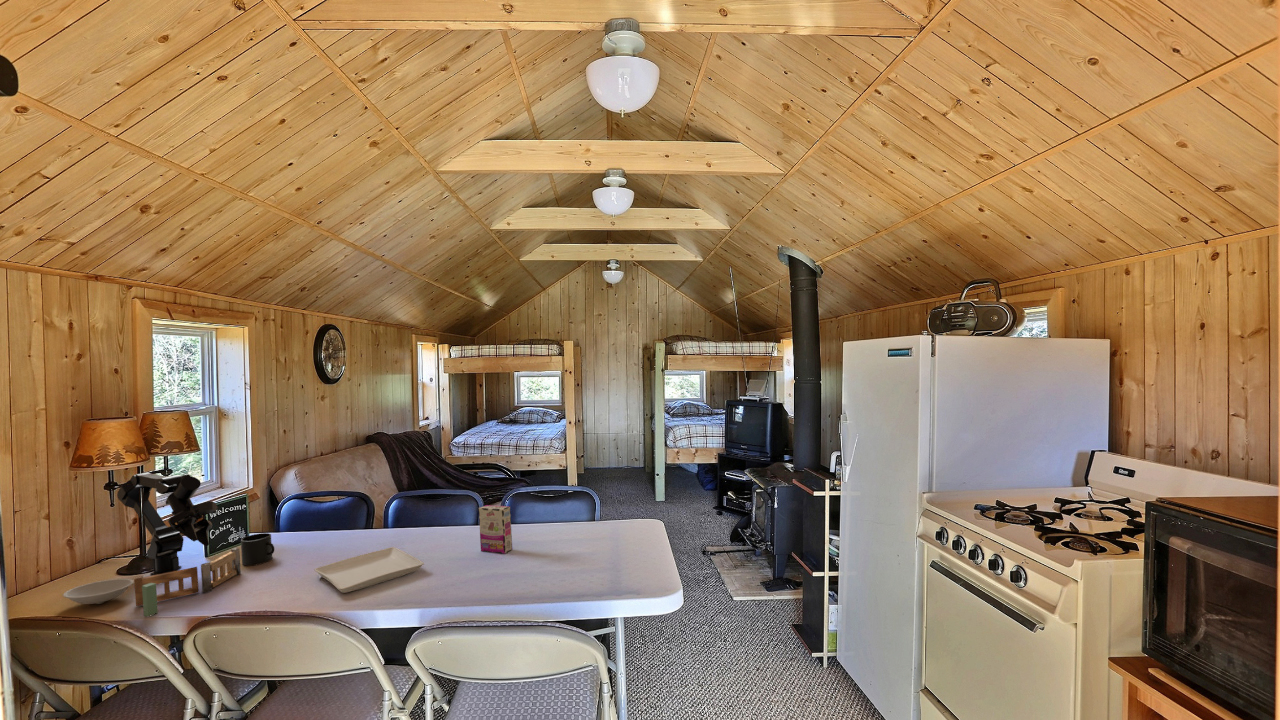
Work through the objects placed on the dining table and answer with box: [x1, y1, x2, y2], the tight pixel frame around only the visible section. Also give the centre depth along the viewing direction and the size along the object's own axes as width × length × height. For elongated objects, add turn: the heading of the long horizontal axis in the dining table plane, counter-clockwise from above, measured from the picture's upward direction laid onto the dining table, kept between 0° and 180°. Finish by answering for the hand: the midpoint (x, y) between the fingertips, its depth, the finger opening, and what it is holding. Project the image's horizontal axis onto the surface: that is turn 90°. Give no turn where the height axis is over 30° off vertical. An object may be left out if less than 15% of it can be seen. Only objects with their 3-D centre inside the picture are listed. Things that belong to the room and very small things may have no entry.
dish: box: [62, 578, 135, 605], centre depth 183 cm, size 18×14×5 cm
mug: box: [240, 532, 275, 566], centre depth 216 cm, size 9×12×9 cm
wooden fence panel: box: [200, 547, 242, 594], centre depth 196 cm, size 2×17×9 cm, turn 1°
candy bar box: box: [478, 504, 513, 554], centre depth 216 cm, size 11×5×16 cm, turn 68°
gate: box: [133, 566, 200, 607], centre depth 183 cm, size 15×2×8 cm, turn 125°
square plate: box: [314, 546, 425, 594], centre depth 197 cm, size 27×27×4 cm
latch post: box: [142, 583, 159, 617], centre depth 173 cm, size 2×2×9 cm
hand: (201, 543), depth 200 cm, fingers open, 9 cm apart
